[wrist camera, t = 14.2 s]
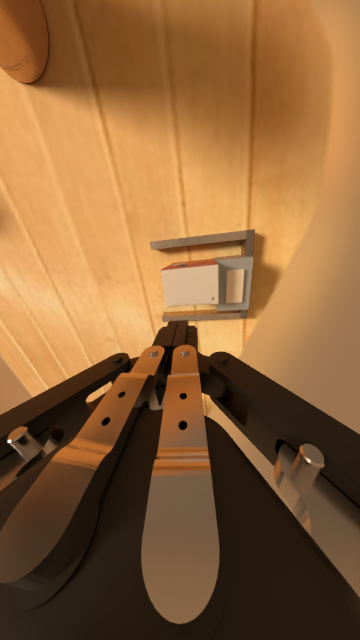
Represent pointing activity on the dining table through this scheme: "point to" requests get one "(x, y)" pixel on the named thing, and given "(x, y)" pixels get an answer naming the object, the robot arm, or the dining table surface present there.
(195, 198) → the dining table surface
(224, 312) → the rail
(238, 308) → the block
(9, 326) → the dining table surface
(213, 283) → the small box
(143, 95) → the dining table surface
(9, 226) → the dining table surface
